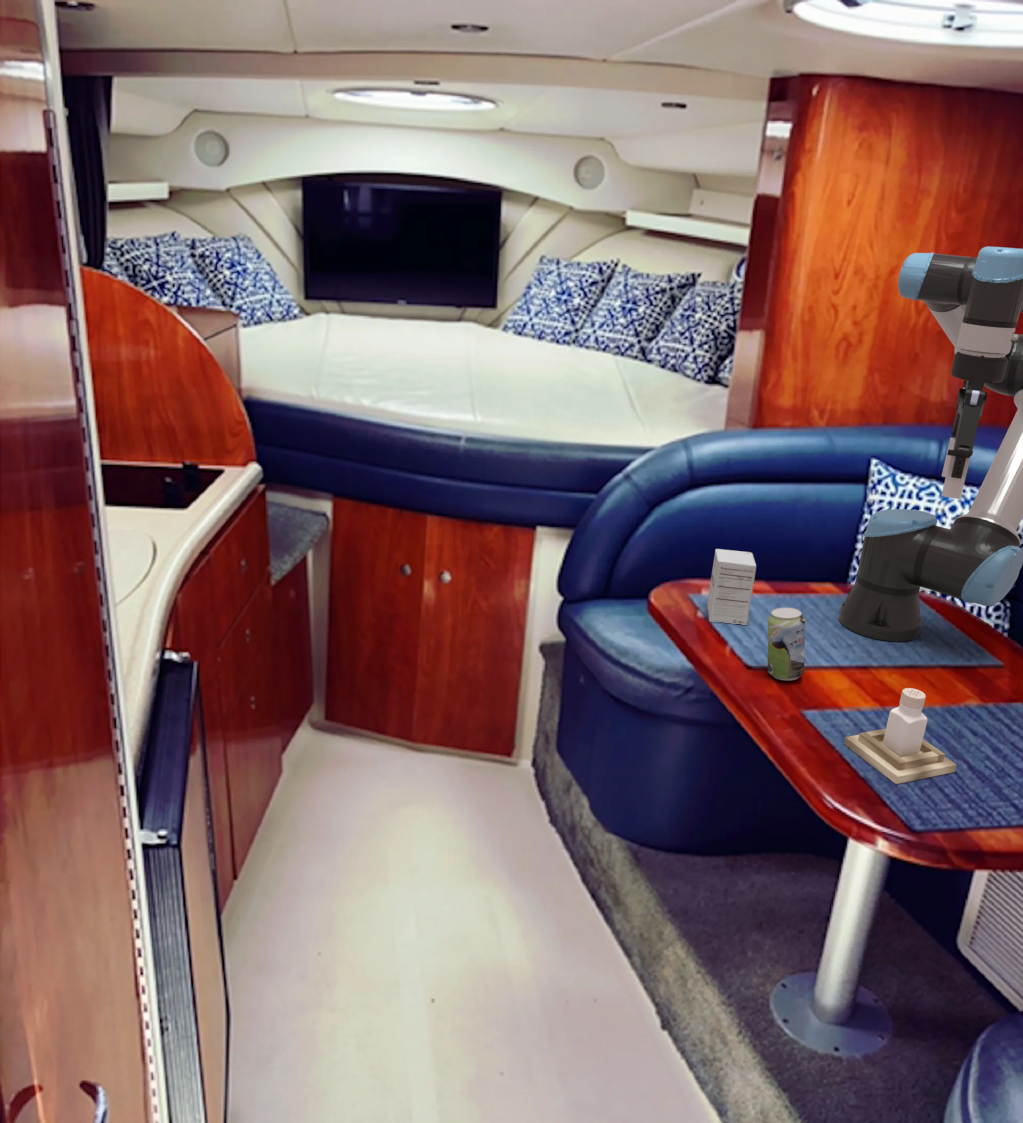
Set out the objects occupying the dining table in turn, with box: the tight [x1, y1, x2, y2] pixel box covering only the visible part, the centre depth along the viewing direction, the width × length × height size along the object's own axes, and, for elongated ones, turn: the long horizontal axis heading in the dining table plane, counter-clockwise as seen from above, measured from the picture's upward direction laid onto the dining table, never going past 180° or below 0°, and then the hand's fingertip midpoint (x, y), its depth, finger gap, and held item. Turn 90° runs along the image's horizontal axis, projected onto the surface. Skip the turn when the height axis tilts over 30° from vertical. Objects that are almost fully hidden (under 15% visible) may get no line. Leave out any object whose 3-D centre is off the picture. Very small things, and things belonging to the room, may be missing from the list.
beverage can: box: [767, 607, 806, 682], centre depth 163 cm, size 6×7×12 cm
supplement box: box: [706, 548, 757, 626], centre depth 186 cm, size 7×7×13 cm
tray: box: [843, 728, 958, 785], centre depth 142 cm, size 11×11×2 cm
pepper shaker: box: [883, 687, 928, 757], centre depth 140 cm, size 4×4×10 cm
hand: (950, 487), depth 155 cm, fingers open, 13 cm apart
